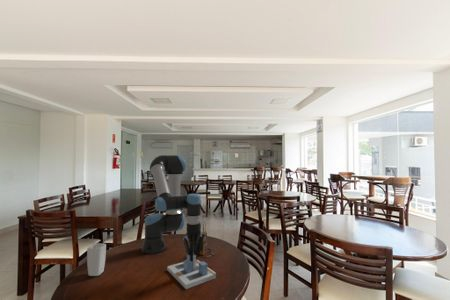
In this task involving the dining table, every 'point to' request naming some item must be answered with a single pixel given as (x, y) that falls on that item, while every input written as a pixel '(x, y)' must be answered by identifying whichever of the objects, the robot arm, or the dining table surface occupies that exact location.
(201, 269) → the tab
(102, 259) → the cup
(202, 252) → the multimeter
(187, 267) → the tab
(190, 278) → the switch bank
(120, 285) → the dining table surface
